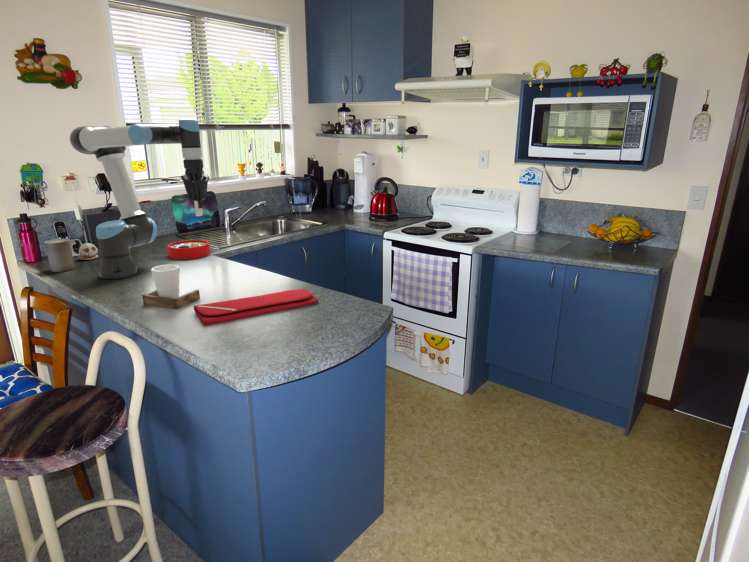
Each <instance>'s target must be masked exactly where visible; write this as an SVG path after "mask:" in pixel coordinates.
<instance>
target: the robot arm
mask: <svg viewBox="0 0 749 562" xmlns="http://www.w3.org/2000/svg"><path fill="white" fill-rule="evenodd" d="M200 131H201V130H200V126H199V121H198V120H197V119H194V118H182V119H181V118H180V119H178V124H166V123H164V124H159V123H158V124H147V123H144V124H143V123H134V124H131V125H123V126H115V127H113V126H106V125H104V126H87V125H86V126H85V125H84V126H78V127H76V128H75V129H73V130H72V131H71V133H70V136H69V142H70V145H71V146H72V148H73V149H74V150H75V151H77V152H78V153H80V154H84V155H95V158H96V160H97V161H98V162H99V163H101V164H102V166H103V169H104V172H105V175H106V177H107V179H108V182H109V185H110V188H111V191H112V193H113V196H114V197H113V198H114V199H115V201H116V205H117V207H118V210H119V213H120V217H119V219H114V220H108V221H105V222H102V223H99V224H98V225H96V228H95V237H96V240H97V245H98V253H99V256H100V257H99V258H100V262H99V270H98V277H99V278H100V279H104V280H116V279H123V278H129V277H132V276H135V275H136V274H137V273H138V268H137V266H136V264H135V261H134V260H133V258H132V257H131V252H130V249H131V248H135V247H139V246H144V245H147V244H149V243H152V242H154V241H155V239H156V237H157V235H158V226H157V224H156V222H155V220H153V219H152V218H151V217H148V216H147V212H145V211H143V210H142V209H141V206H140V203H139V201H138V198H137V195H136V192H135V189H134V187H133V183H132V181H131V178H130V175H129V173H128V169H127V168H126V164H125V161H124V157H125V156H126V153H125V152H126V150H127V147H130V146H142V145H143V146H145V145H146V146H147V145H171V144H172V145H173V144H176V145H177V144H179V145H181V154H182V158H183V161H182V162H183V168H184V169H185V171H184V174H183V175H181V176H180V179H181V180H182V182H183V185H184V188H185V191H186V194H187V199H189V200H191V201H192V203H193V204H192V205H193V208H194V212H195V216H196V217H202V216H204V213H203V208H204V203H203V202H204V200H206V199H207V195H208V194H207V193H208V183H209V180H210V176H208V175H206V174H205V171H204V170H203V168H204V160H203V159H202V157H203V153H202V144H201V134H200Z"/></svg>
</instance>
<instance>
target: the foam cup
mask: <svg viewBox="0 0 749 562" xmlns="http://www.w3.org/2000/svg"><path fill="white" fill-rule="evenodd" d="M150 270H151V276H152V278H153V281H154V285H155V287H156V288H155V289H156V290H157V292H158V295H159V296H160V297H168V298H175V299H176V298H178V297H180V274H181V270H180V265H178V264H162V265H156V266H153V267H152V268H151V269H150Z"/></svg>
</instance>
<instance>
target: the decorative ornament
mask: <svg viewBox="0 0 749 562" xmlns="http://www.w3.org/2000/svg"><path fill="white" fill-rule="evenodd" d="M82 231H83V235H84V240H85V243H83V244H82V245H81V246H79V249H78V253H79V255H80V260H85V261H88V260H94V259H98V258H100V257H99V256H100V254H99V255H98V253H99V248H97V247H96V245H94V244H93V243H89V242H88V238H87V233H86V229H85V228H84V229H83V230H82Z"/></svg>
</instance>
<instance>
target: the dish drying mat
mask: <svg viewBox="0 0 749 562" xmlns="http://www.w3.org/2000/svg"><path fill="white" fill-rule="evenodd" d="M316 304H319V299H318V298H316V297H315V296H314V295H313V294H312V292H310V291H309V290H307V289H304V288H301V289H299V288H298V289H289V290H288V289H287V290H283V291H277V292H272V293H266V294H262V295H261V294H260V295H255V296H254V295H253V296H247V297H242V298H235V299H229V300H223V301H218V302H217V301H216V302H210V303H209V302H208V303H203V304H197V305H194V306H192V307H193V310H194V313H195V316H196V317H197V318H198V319H199V321H200V322H201V323H202V325H203V326H204V327H207V326H212V325H217V324H218V325H219V324H222V323H228V322H233V321H239V320H243V319H249V318H253V317H254V318H255V317H258V316H262V315H268V314H273V313H278V312H285V311H287V310H292V309H296V308H302V307H306V306H312V305H316Z"/></svg>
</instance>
